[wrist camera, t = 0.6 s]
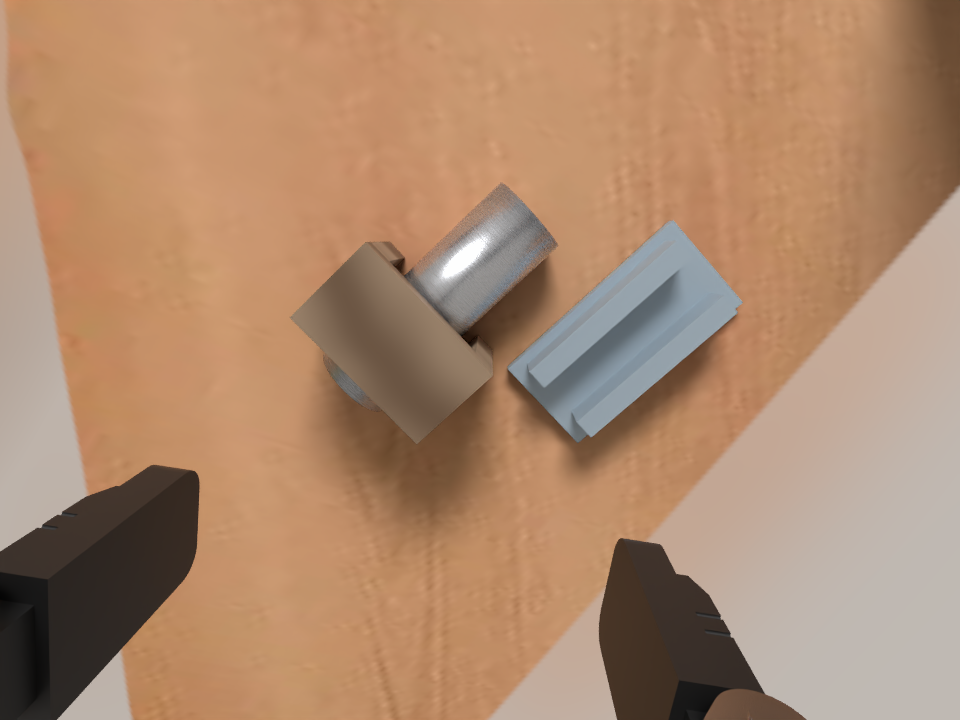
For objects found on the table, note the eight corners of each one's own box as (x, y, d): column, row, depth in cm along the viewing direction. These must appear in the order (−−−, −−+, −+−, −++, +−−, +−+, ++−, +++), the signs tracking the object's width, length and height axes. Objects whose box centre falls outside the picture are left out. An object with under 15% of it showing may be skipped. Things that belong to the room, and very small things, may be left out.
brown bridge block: (389, 241, 32) (365, 242, 26) (492, 350, 33) (492, 375, 27) (327, 302, 33) (289, 317, 27) (430, 406, 34) (416, 444, 28)
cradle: (668, 220, 32) (685, 219, 29) (736, 300, 33) (759, 306, 30) (507, 366, 34) (509, 377, 31) (575, 438, 34) (583, 455, 32)
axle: (499, 186, 32) (501, 178, 27) (553, 245, 32) (563, 247, 28) (335, 345, 34) (313, 360, 29) (388, 398, 34) (374, 421, 30)
